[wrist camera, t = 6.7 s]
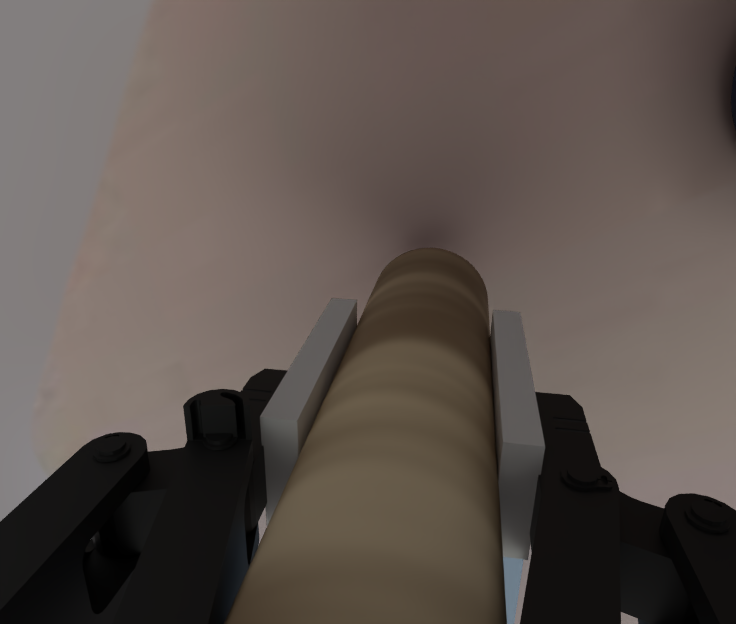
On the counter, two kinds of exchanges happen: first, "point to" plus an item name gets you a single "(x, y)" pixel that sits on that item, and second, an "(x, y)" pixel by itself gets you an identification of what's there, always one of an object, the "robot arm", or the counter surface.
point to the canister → (734, 99)
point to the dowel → (394, 470)
